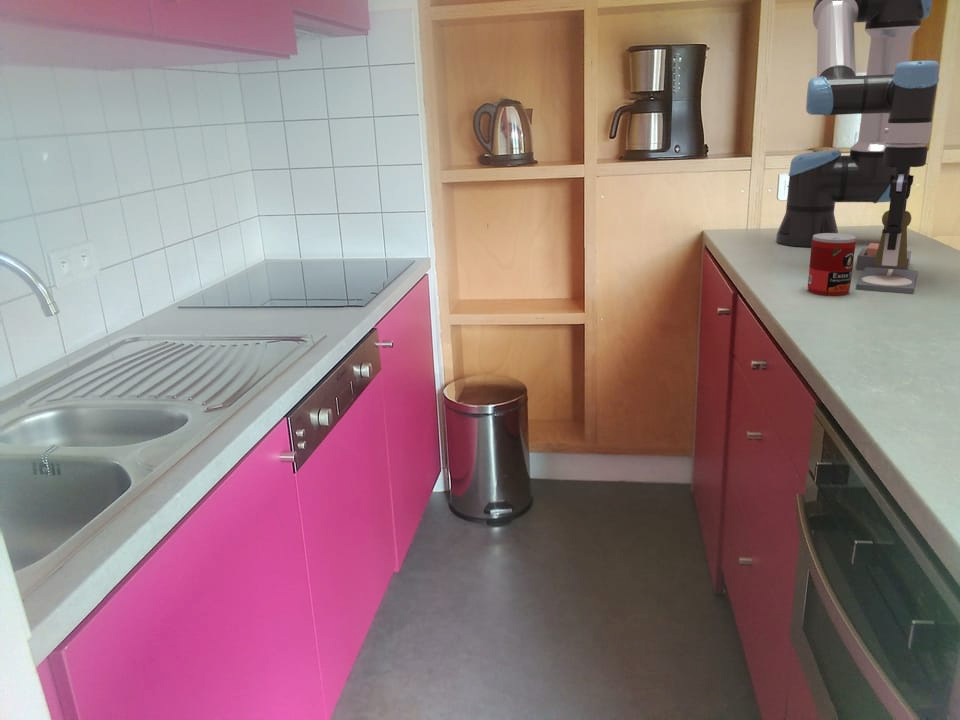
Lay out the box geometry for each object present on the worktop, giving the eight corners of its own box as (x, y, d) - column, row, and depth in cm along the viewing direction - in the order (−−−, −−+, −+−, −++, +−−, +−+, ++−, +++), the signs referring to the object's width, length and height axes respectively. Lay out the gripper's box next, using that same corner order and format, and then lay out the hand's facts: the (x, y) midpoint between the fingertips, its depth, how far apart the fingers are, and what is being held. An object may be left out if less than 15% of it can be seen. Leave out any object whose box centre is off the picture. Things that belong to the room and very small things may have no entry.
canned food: (831, 298, 147) (838, 241, 143) (798, 290, 153) (803, 235, 150) (858, 292, 150) (865, 236, 147) (824, 285, 157) (830, 231, 153)
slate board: (865, 271, 167) (865, 266, 167) (917, 275, 162) (917, 270, 162) (855, 289, 152) (856, 283, 152) (912, 293, 148) (913, 288, 147)
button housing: (860, 260, 178) (862, 248, 177) (909, 263, 173) (911, 250, 172) (855, 269, 170) (857, 255, 169) (907, 272, 165) (908, 258, 164)
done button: (868, 256, 175) (870, 243, 174) (902, 258, 172) (903, 244, 171) (865, 261, 170) (867, 248, 169) (900, 263, 166) (901, 250, 165)
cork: (911, 267, 153) (919, 212, 150) (878, 267, 154) (885, 212, 151) (901, 261, 159) (909, 208, 155) (870, 261, 160) (877, 208, 157)
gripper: (888, 142, 159) (874, 253, 166) (880, 148, 143) (865, 269, 151) (929, 142, 155) (913, 255, 162) (926, 148, 140) (908, 272, 147)
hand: (890, 262), depth 156 cm, fingers closed on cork, 6 cm apart
